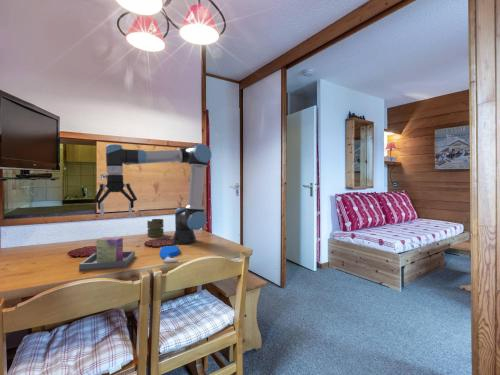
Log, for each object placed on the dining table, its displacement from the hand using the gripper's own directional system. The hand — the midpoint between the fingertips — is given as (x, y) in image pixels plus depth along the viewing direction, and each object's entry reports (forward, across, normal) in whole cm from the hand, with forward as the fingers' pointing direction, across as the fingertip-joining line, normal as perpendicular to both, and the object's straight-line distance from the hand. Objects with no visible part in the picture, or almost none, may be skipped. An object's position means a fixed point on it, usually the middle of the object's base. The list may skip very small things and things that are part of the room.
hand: (116, 215), depth 133 cm
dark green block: (+24, +12, +55) cm, 61 cm away
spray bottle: (+25, +26, 0) cm, 36 cm away
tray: (+23, -3, -6) cm, 24 cm away
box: (+23, -2, -6) cm, 24 cm away
